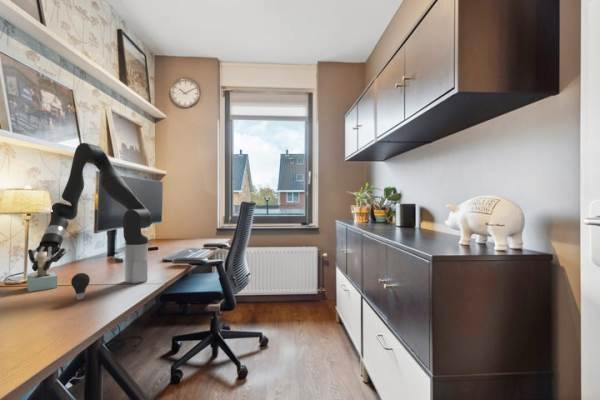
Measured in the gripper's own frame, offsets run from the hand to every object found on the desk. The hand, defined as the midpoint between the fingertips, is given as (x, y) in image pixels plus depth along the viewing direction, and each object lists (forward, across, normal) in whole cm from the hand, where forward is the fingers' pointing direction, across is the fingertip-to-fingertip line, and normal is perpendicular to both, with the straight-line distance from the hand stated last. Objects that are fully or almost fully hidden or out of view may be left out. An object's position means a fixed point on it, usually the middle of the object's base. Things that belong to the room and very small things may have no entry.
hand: (39, 269), depth 127 cm
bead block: (+4, 0, +7) cm, 8 cm away
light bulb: (+21, +21, -10) cm, 32 cm away
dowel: (+2, 0, +5) cm, 5 cm away
